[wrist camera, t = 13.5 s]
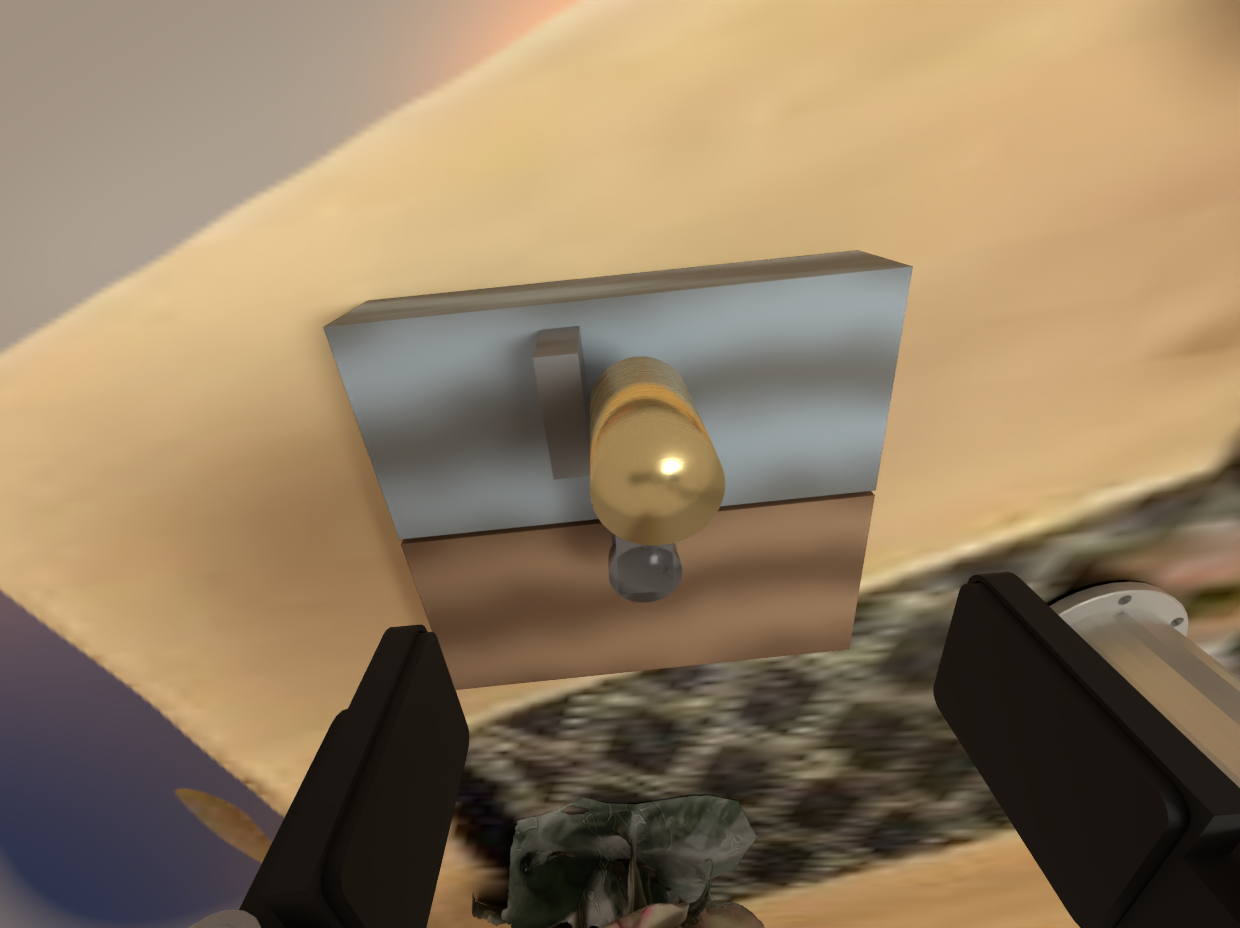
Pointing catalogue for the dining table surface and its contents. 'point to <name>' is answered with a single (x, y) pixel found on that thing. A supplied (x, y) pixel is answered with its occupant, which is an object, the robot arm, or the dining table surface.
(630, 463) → the switch lever
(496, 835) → the dining table surface
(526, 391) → the lever switch panel
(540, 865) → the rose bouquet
